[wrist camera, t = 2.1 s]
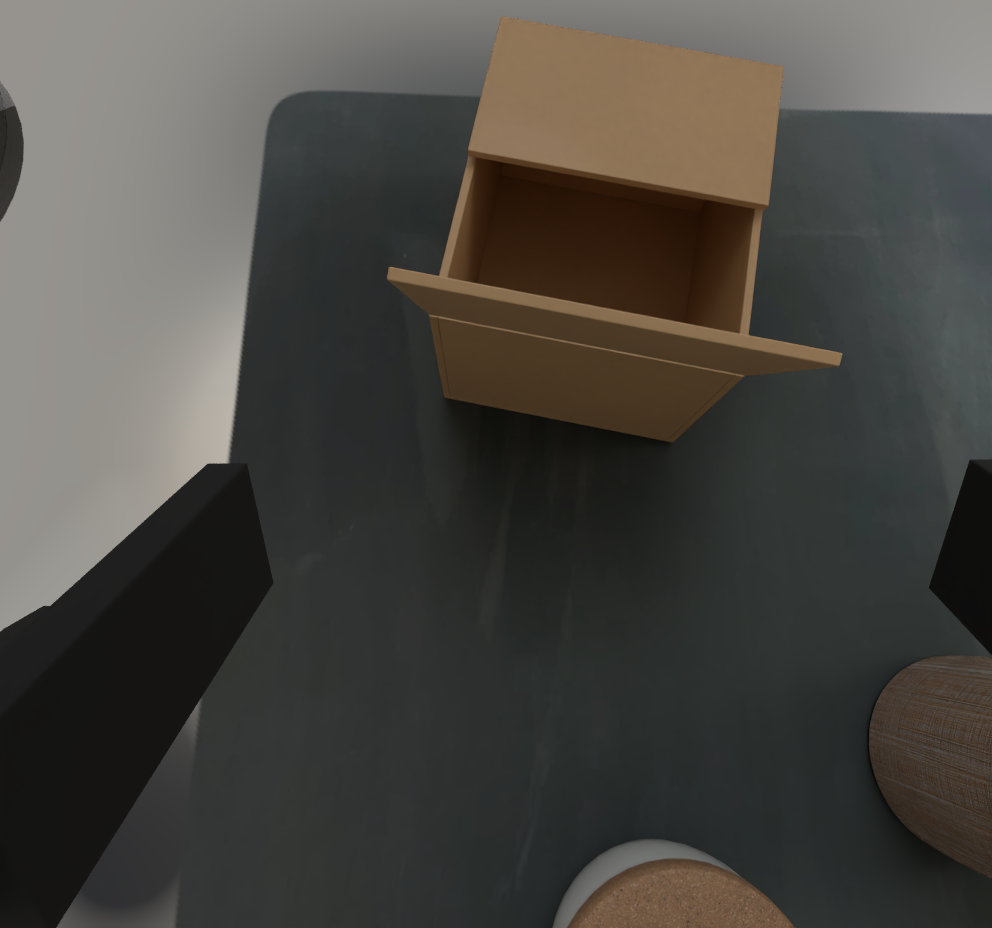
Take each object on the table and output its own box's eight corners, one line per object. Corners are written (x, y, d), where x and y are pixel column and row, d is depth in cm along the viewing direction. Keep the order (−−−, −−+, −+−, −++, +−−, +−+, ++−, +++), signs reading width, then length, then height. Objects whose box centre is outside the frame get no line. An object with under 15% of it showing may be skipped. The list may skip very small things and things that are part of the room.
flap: (750, 366, 26) (748, 376, 26) (429, 304, 27) (427, 314, 27) (843, 353, 18) (839, 366, 18) (388, 266, 19) (386, 279, 19)
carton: (673, 442, 37) (751, 370, 26) (443, 397, 37) (427, 307, 26) (705, 212, 41) (785, 64, 30) (496, 174, 41) (500, 14, 30)
